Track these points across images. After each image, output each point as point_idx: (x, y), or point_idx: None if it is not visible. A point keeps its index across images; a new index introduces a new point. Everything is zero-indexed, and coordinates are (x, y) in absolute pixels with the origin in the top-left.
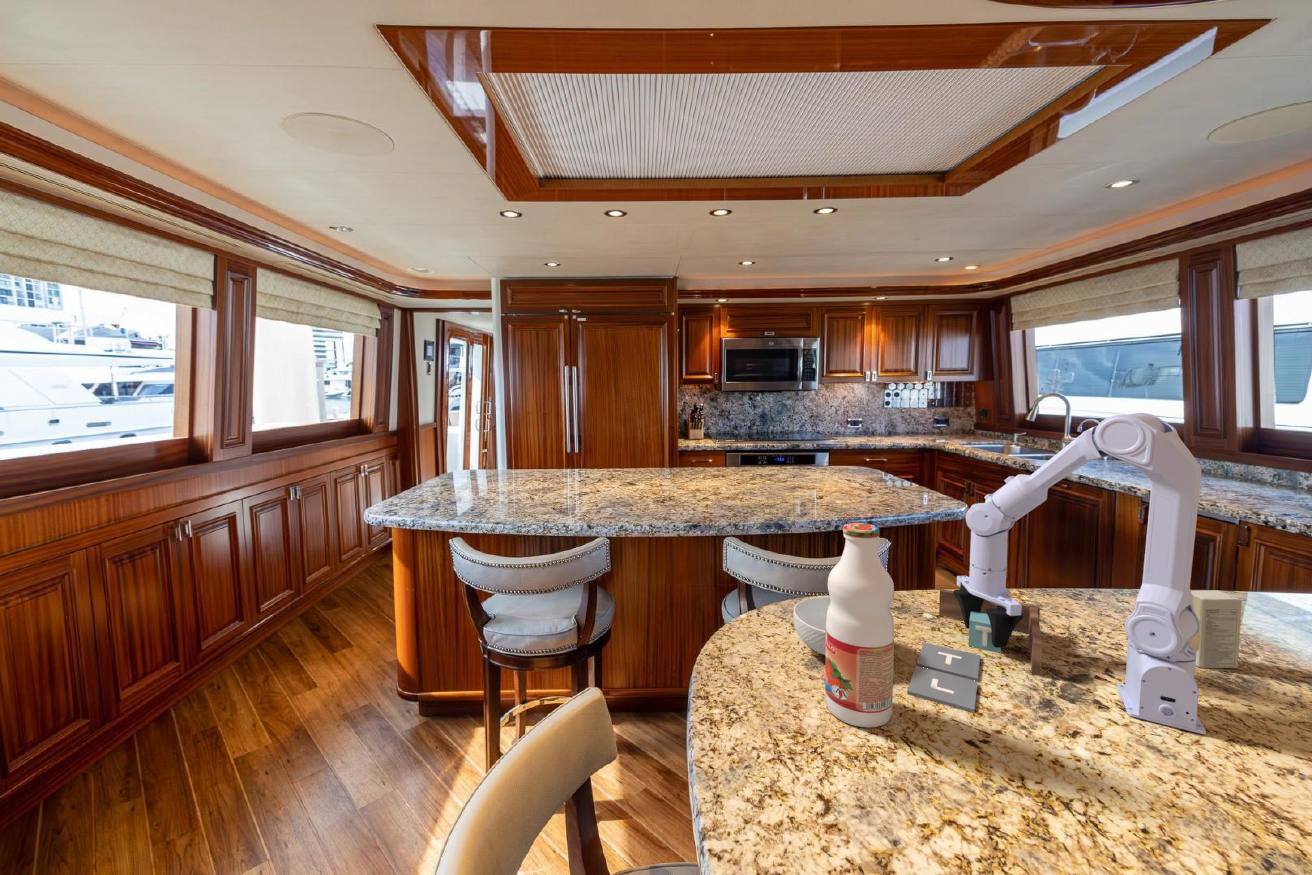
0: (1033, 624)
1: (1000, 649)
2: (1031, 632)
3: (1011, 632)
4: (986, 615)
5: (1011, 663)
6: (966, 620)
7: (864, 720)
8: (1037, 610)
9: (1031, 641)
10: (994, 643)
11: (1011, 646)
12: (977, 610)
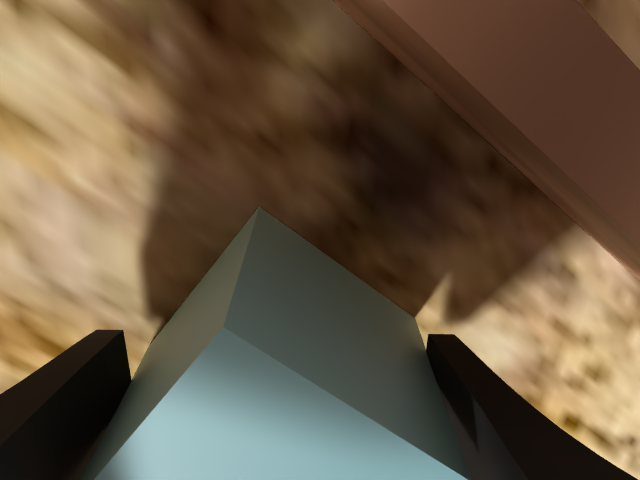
0: (620, 186)
1: (420, 337)
2: (623, 240)
3: (538, 415)
4: (186, 456)
5: (540, 340)
6: None
7: None
8: None
9: (632, 258)
10: None
11: (332, 174)
12: (31, 450)
